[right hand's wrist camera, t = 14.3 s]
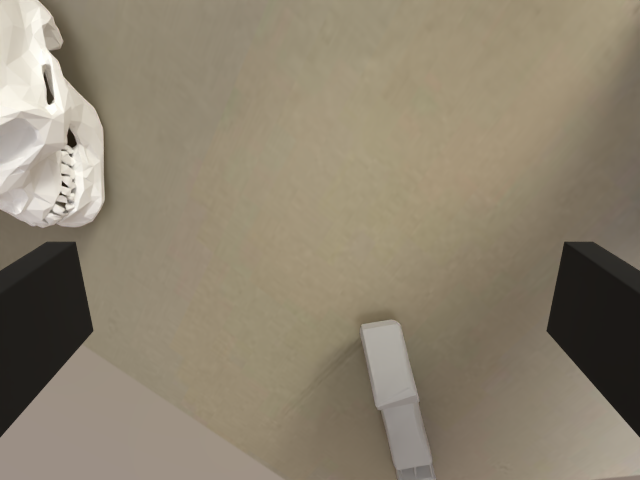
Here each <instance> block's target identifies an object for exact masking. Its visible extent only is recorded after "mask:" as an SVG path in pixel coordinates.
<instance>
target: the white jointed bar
mask: <svg viewBox="0 0 640 480" xmlns="http://www.w3.org/2000/svg"><path fill="white" fill-rule="evenodd" d="M359 334H360V337H361V341H362V345H363V349H364V353H365V358H366V363H367V367H368V372H369V377H370V382H371V387H372V391H373V396H374V401H375V406H376V407H377V410H381V414H382V418H383V422H384V426H385V430H386V434H387V438H388V442H389V447H390V451H391V456H392V460H393V465H394V466H395V468H396V477H397V480H437V479H436V477H435V473H434V469H433V465H432V454H431V450H430V446H429V442H428V438H427V434H426V430H425V426H424V423H423V419H422V415H421V410H420V406H419V401H420V400H419V396H418V392H417V388H416V384H415V381H414V377H413V373H412V369H411V365H410V361H409V357H408V353H407V348H406V344H405V340H404V336H403V332H402V328H401V324H400V323H398V322H397V321H395V320H393V319H391V320H385V321H379V322H373V323H367V324H361V327H360V333H359Z"/></svg>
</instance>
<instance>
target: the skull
mask: <svg viewBox="0 0 640 480" xmlns="http://www.w3.org/2000/svg"><path fill="white" fill-rule="evenodd" d="M62 44H63V39H62V37H61V34H60V32H59V29H58V28H57V26H56V25H55V22H54V18H53V16H52V15H51V13H50V12H49V11H48V10H47V9H46V8H45V7H44V6H43V5H42V4H41V3H40V2H39V1H38V0H0V210H2V211H4V212H7V213H9V214H10V215H12V216H14V217H15V218H17V219H19V220H21V221H24V222H26V223H27V224H29V225H30V226H36V225H37V226H39V227H41V228H44V227H47V226H50V225H54V224H55V223H56V224H58V225H60V226H66V227H81V226H83V225H86V224H88V223H90V222H92V221H93V220H94V219H95V217H96V216H97V214H98V213H99V211H100V210H101V208H102V206H103V203H104V201H105V191H104V141H103V127H102V125H101V122H100V119H99V116H98V114H97V112H96V110H95V108H94V107H93V106H92V105H91V104H90V103H89V102H88V101H87V100H86V99H84V98H83V97H82V96H81V95H80V94H79V93H78V92H77V91H76V90H75V89H74V87H73V86H72V85H71V84H70V83H69V82H68V81H67V80H66V79H65V78H64V77H63V74H62V71H61V67H60V64H59V61H58V60H57V59H56V58H55V57H54V56H53V55H52V54H51V53H50V52H49V51H51V50H56V49H61V46H62ZM44 72H45V75H46V78H47V82H48V85H49V89H50V92H51V94H52V96H53V98H54V100H53V101H52V103H51V104H50V105H48V103H47V89H46V85H45V81H44V78H43V76H44ZM69 129H70V130H71V132H72V133H73V134H74V136H75V139H76V143H77V145H76V146H74V147H73V148H71V147H70V146H68V145H67V143H68V142H67V133H68V130H69ZM62 149H63V151H61V150H62ZM69 154H71V157H70V156H69ZM62 162H63V163H64V164H61V163H62ZM69 166H71V168H70V167H69ZM61 174H64V176H62V175H61ZM62 181H63V182H64V183H65V184H66V185H67V186H68V188H67V187H63V186H62ZM71 190H72V192H71ZM60 192H61V193H62V194H64V195H65V196H61V195H59V194H60ZM67 200H69V202H67ZM57 201H59V202H63V203H66V205H65V206H64V205H62V204H60V203H59V202H57Z"/></svg>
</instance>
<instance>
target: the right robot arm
mask: <svg viewBox="0 0 640 480" xmlns="http://www.w3.org/2000/svg"><path fill="white" fill-rule="evenodd" d="M92 332H93V326H92V321H91V316H90V311H89V306H88V301H87V296H86V291H85V286H84V281H83V277H82V272H81V267H80V262H79V257H78V252H77V247H76V242H46V243H44V244H43V245H41V246H39V247H38V248H36V249H35V250H33V251H31V252H30V253H28V254H27V255H25V256H23V257H22V258H20V259H19V260H17V261H15V262H14V263H12V264H11V265H9V266H7V267H6V268H4V269H2V270H1V271H0V437H1V436H2V435H3V434H4V432H5V431H6V430H7V429H8V428H9V427H10V426H11V425H12V423H13V422H14V421H15V420H16V419H17V418H18V417H19V415H20V414H21V413H22V412H23V411H24V410H25V409H26V407H27V406H28V405H29V404H30V403H31V402H32V401H33V399H34V398H35V397H36V396H37V395H38V394H39V393H40V391H41V390H42V389H43V388H44V387H45V386H46V385H47V383H48V382H49V381H50V380H51V379H52V378H53V377H54V375H55V374H56V373H57V372H58V371H59V370H60V369H61V367H62V366H63V365H64V364H65V363H66V362H67V360H68V359H69V358H70V357H71V356H72V355H73V354H74V353H75V351H76V350H77V349H78V348H79V347H80V346H81V345H82V343H83V342H84V341H85V340H86V339H87V338H88V337H89V335H90V334H91V333H92ZM547 332H548V333H549V334H550V335H551V337H552V338H553V339H554V340H555V341H556V342H557V343H558V345H559V346H560V347H561V348H562V349H563V350H564V351H565V353H566V354H567V355H568V356H569V357H570V358H571V359H572V361H573V362H574V363H575V364H576V365H577V366H578V367H579V369H580V370H581V371H582V372H583V373H584V374H585V375H586V377H587V378H588V379H589V380H590V381H591V382H592V383H593V385H594V386H595V387H596V388H597V389H598V390H599V391H600V393H601V394H602V395H603V396H604V397H605V398H606V399H607V401H608V402H609V403H610V404H611V405H612V406H613V407H614V409H615V410H616V411H617V412H618V413H619V414H620V415H621V417H622V418H623V419H624V420H625V421H626V422H627V423H628V425H629V426H630V427H631V428H632V429H633V430H634V431H635V433H636V434H637V435H638V436H639V437H640V271H639V270H638V269H636V268H634V267H633V266H631V265H629V264H628V263H626V262H625V261H623V260H621V259H620V258H618V257H617V256H615V255H613V254H612V253H610V252H609V251H607V250H605V249H604V248H602V247H601V246H599V245H597V244H596V243H594V242H564V247H563V252H562V257H561V262H560V267H559V272H558V277H557V281H556V286H555V291H554V296H553V301H552V306H551V311H550V316H549V321H548V326H547Z"/></svg>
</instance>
